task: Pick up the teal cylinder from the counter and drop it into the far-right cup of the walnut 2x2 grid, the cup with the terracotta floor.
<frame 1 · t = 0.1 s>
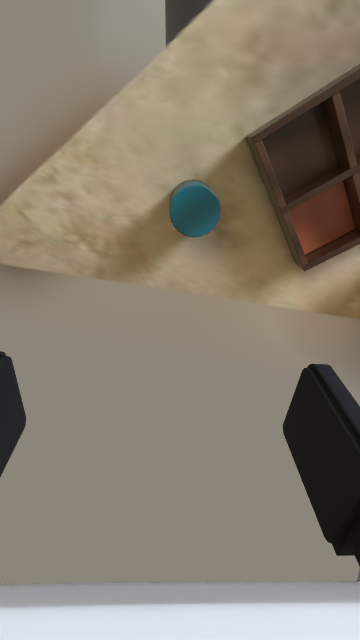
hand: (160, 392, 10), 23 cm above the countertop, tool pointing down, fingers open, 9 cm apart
teal cylinder: (192, 204, 29), on the countertop
grid: (340, 167, 28), on the countertop
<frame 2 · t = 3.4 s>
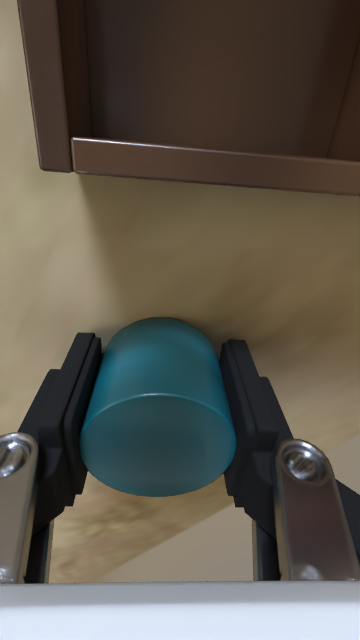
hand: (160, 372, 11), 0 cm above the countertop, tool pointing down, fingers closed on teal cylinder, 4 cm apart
teal cylinder: (160, 366, 11), on the countertop, touching gripper
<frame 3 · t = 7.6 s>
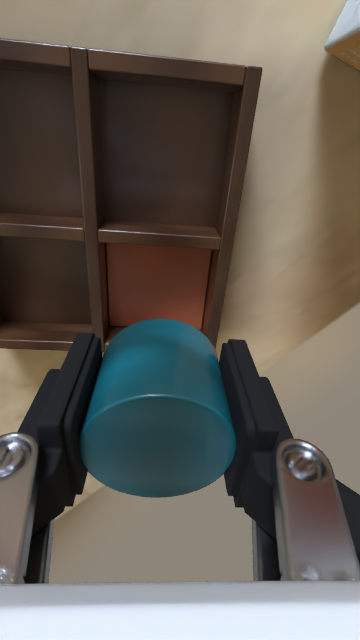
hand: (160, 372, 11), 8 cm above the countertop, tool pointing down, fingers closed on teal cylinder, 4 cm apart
teal cylinder: (160, 367, 11), point 8 cm above the countertop, touching gripper
grid: (100, 222, 16), on the countertop
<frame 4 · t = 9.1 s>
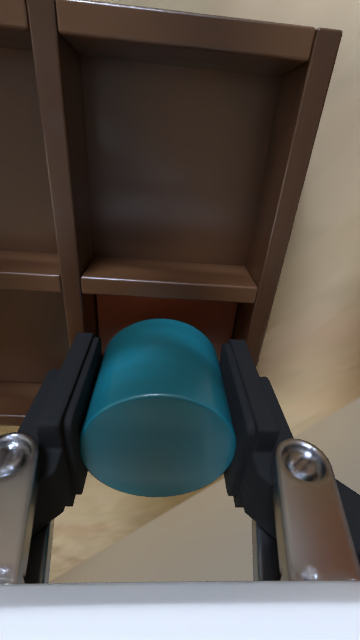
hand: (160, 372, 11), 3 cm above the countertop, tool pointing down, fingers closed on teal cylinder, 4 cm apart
teal cylinder: (160, 367, 11), point 3 cm above the countertop, touching gripper
grid: (88, 258, 12), on the countertop
when the fingers open (3 cm above the countertop, at t = 11.8 s): teal cylinder drops 2 cm, resting on grid.
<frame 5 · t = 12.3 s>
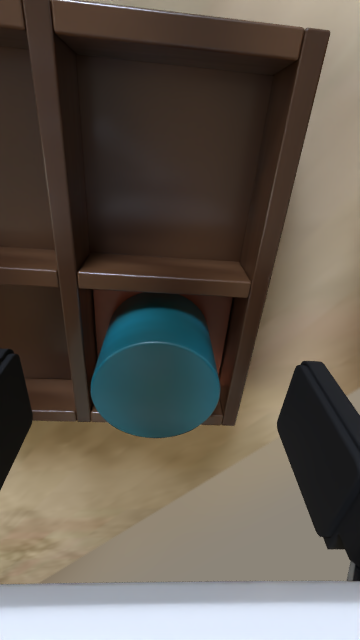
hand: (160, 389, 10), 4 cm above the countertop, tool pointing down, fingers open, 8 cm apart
teal cylinder: (158, 334, 13), point 1 cm above the countertop, touching grid
grid: (85, 254, 12), on the countertop
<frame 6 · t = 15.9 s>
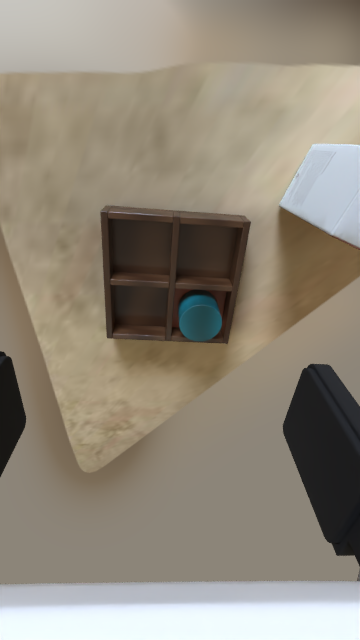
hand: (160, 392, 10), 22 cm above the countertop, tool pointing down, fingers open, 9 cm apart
teal cylinder: (197, 306, 33), point 1 cm above the countertop, touching grid
grid: (171, 275, 32), on the countertop
small box: (328, 193, 29), on the countertop
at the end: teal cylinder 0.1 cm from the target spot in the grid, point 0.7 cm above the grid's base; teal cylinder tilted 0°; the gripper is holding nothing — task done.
